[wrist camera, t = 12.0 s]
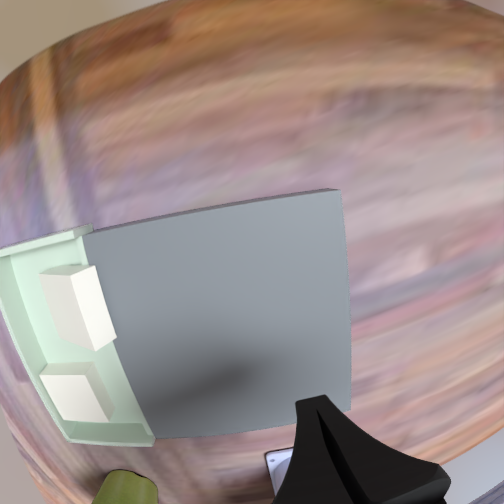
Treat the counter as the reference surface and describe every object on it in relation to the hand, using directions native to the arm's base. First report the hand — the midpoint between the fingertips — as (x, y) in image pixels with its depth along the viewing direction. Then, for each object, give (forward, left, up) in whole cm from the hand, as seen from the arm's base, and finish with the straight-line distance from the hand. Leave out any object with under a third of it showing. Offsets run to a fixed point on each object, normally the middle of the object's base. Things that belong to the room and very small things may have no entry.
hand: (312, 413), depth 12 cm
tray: (0, +16, -10) cm, 19 cm away
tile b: (+4, +13, -9) cm, 16 cm away
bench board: (0, +4, -10) cm, 11 cm away
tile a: (-4, +18, -8) cm, 20 cm away
